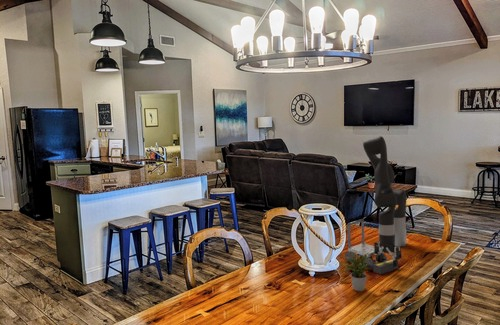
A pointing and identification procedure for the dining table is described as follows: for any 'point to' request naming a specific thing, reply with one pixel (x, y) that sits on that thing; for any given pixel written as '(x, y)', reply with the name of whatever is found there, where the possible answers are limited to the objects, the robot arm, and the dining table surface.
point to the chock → (384, 266)
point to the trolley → (361, 248)
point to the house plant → (358, 272)
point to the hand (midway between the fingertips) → (387, 264)
